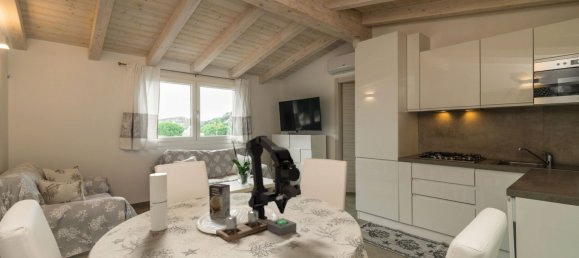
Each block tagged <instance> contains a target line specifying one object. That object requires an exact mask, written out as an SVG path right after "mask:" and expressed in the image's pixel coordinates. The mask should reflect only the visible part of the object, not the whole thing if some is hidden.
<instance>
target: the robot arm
mask: <svg viewBox="0 0 579 258" xmlns="http://www.w3.org/2000/svg"><path fill="white" fill-rule="evenodd" d="M245 148H246V150H247V155H248V156H249V157H250V159H251V168H252V169H251V171H252V178H253V188H252V190H251V196H250V197H249V199H248V202H247V204H248V207H249V208H251V209H252V210H256V211H258V220H259V219H260V220H264V219H267V218H268V217H267V216H266V211H265V210H266V209H265V206H269V203H272V202H273V203H275V205H276V208H277V209H278V211H279V214H280V215H282V214H283V215H284V214H285V213H284V212H285V209H286V206H287V203H288V202H289V201H290V200H291V199H292V198H297V196H301V195H302V190H301V185H299V184H298V183H297V184H292V183H291V182H297V181H298V180H299V179H300V177H301V171H300V169H299V168H298V167H297V165H296V164H295V162H294V159H293V157H292V155H291V152H290V150H289V149H288V148H285V147H283V146H278V145H277V144H276V143H275V142H274V141H273V140H272V139H270V138H269V137H268V135H266V134H264V135H260V134H259V135H257V136H255V137H253V138H252V139H250V140H248V141H247V142H246V143H245ZM264 150H266V152H267V153H269V154H270V159H271V160H272V161H273V164H272V166H271V167H273V168H274V179H273V180H272V183H274V188H273V190H272V192H270V191H269V189H268V188H266V187H265V186H264V185H265V184H264V176H263V165H262V155H263V153H264ZM252 210H251V211H252Z"/></svg>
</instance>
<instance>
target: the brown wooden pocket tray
mask: <svg viewBox="0 0 579 258" xmlns="http://www.w3.org/2000/svg"><path fill="white" fill-rule="evenodd" d="M266 229H267V223H265V222H263V221H261V220H259V219H258V226H256V227H253V228H250V227H248V221H247V220H246V221H243V222H240V223H237V233H234V234H231V235H227V234H226V227H223V228H220V229H216V232H215V234H216V235H217V236H219V237H220V238H222V239H223V240H225V241H227V242H230V241H233V240H236V239H239V238H241V237H246V236H249V235H251V234H254V233H258V232H260V231H263V230H266Z"/></svg>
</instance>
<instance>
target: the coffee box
mask: <svg viewBox="0 0 579 258" xmlns="http://www.w3.org/2000/svg"><path fill="white" fill-rule="evenodd" d="M208 186H209V187H208V188H209V189H208V190H209V193H208V194H209V195H208V197H209V216H210V217H216V218H221V219H223V218H226V217H229V216H231V185H230V184H227V183H219V182H217V183H212V184H209V185H208Z"/></svg>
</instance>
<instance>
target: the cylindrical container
mask: <svg viewBox="0 0 579 258" xmlns="http://www.w3.org/2000/svg"><path fill="white" fill-rule="evenodd" d="M167 174H168V173H167V172H158V173H151V174H149V213H150V214H149V215H150V217H149V218H150V219H149V220H150V221H149V223H150V231H151V232H161V231H163V230H166V229H168V226H169V224H168V223H169V221H168V219H169V218H168V175H167Z"/></svg>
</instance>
